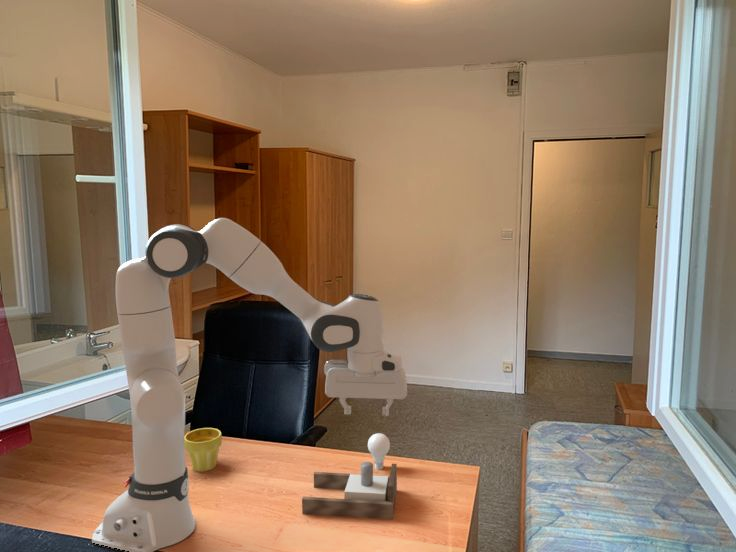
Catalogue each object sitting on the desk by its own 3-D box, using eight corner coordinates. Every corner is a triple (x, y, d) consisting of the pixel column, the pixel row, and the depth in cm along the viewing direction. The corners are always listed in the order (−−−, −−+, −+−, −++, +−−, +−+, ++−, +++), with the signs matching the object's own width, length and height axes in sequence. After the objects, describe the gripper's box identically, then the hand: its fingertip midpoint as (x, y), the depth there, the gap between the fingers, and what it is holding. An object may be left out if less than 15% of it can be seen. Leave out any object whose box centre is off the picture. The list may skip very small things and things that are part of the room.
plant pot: (194, 478, 153) (193, 445, 152) (179, 465, 161) (178, 433, 159) (228, 467, 160) (227, 435, 158) (213, 455, 167) (211, 424, 166)
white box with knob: (344, 510, 134) (344, 472, 133) (350, 492, 143) (349, 455, 142) (385, 513, 133) (385, 474, 132) (388, 494, 142) (388, 457, 141)
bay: (302, 517, 133) (301, 483, 132) (314, 488, 147) (314, 457, 146) (392, 523, 131) (392, 488, 130) (396, 493, 144) (396, 461, 143)
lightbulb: (390, 476, 154) (390, 438, 152) (367, 476, 154) (367, 438, 152) (389, 465, 160) (389, 429, 159) (367, 465, 160) (367, 429, 159)
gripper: (321, 362, 132) (322, 417, 134) (405, 364, 130) (406, 420, 131) (326, 355, 138) (327, 408, 140) (407, 357, 136) (407, 410, 138)
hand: (366, 414), depth 136 cm, fingers open, 8 cm apart
